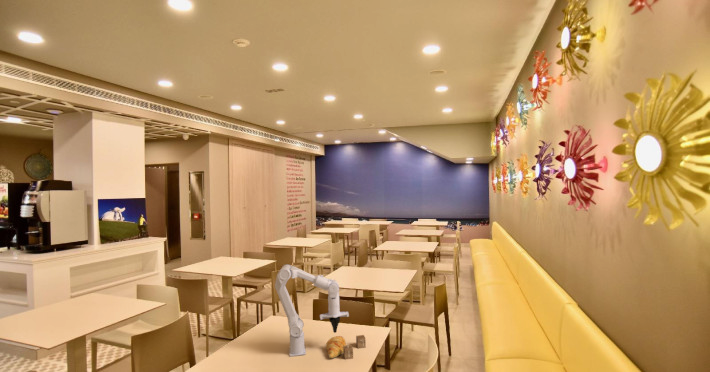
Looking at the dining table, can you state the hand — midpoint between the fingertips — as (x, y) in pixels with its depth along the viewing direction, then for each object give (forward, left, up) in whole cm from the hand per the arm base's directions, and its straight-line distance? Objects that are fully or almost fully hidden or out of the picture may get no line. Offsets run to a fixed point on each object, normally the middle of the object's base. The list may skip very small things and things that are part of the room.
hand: (334, 331), depth 186 cm
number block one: (+9, +5, -10) cm, 14 cm away
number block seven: (-1, +13, -10) cm, 17 cm away
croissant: (0, 0, -10) cm, 10 cm away
